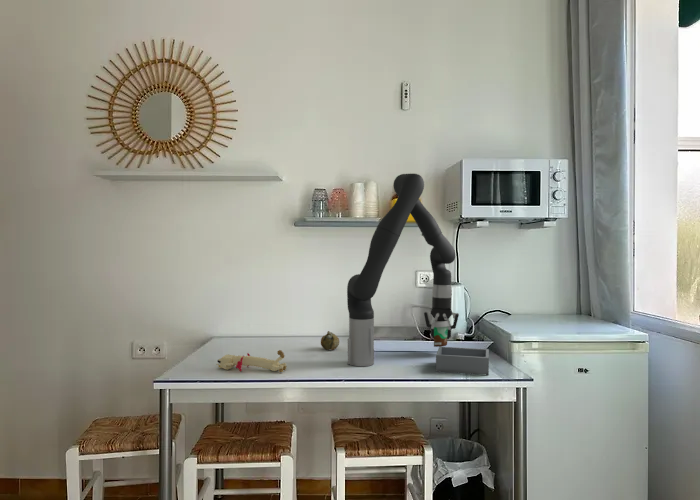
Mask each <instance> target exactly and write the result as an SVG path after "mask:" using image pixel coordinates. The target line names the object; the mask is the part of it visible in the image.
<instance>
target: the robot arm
mask: <svg viewBox="0 0 700 500" xmlns="http://www.w3.org/2000/svg"><path fill="white" fill-rule="evenodd" d="M424 188H425V181H424V178H423V177H422V175H420V174H419V173H401V174H399V175H397V176H396V177H395V178H394V180H393V190H394V192H395V194H396V195H397V199H396V201H395V202H394V204H393V206H392V207H391V208H390V209H389V211H388V212H387V213H386V214H385V215H384V216H383V217H382V219H381V220H380V221H379V223H378V224H377V226H376V228H375V231H374V233H373V235H372V237H371V240H370V244H369V250H368V256H367V258H366V262H365V264H364V265H363V268H362V270H361V271H360V273H358V274H354V275H353V276H351V277H350V278H349V280H348V282H347V286H346V289H347V290H346V293H347V295H346V296H347V301H346V302H347V303H346V304H347V310H348V320H349V321H348V333H349V334H348V338H347V365H349V364H350V366H355V367H368V366H373V365H374V363H375V312H374V311H375V310H374V309H373V306H372V298H373V297H374V296H375V294H376V292H377V290H378V287H379V284H380V281H381V278H382V275H383V273H384V270H385V268H386V266H387V264H388V262H389V259H390V258H391V255H392V253H393V251H394V250H395V248H396V245H397V244H398V241H399V239H400V237H401V235H402V232H403V229H404V228H405V225H406V223H407V221H408V220H409V217H410V216H412V218H413V220H414V221H415V223H416V225H417V227H418V228H419V230H420V232H421V235H422V236H423V238H424V240H425V242H426V243H427V244H428V245H429V246H432V248H431V250H430V253H429V254H430V255H429V259H430V260H429V261H430V264H431V270H432V272H433V273H432V274H433V276H432V277H433V278H432V280H433V281H432V283H433V284H432V285H433V286H432V295H431V296H432V297H431V298H432V299H431V310H430V311H424V312H423V316H424V320H425V321H424V322H425V326H426V328H429V329H430V338H431V337H432V339H434V322H437V321H438V322H439V321H448V319H449V321H450V318H451V317H452V318H453V324H452V325H451V324H450V326H448V334H447V340H450V339H451V337H452V330H454V329H456V327H457V325H458V320H459V316H460V313H458V312H453V311H452V297H453V296H452V295H453V294H452V272H451V271H450V270H449V269H447V267H446V265H449V264H452V263H453V262H455V259H456V251H455V248H454V246H453V245H452V243H450V241H449V240H448V239H447V237H445V235H444V234H443V232H442V230H441V228H440V226H439V224H438V222H437V220H436V219H435V218H434V216H433V215H432V214H431V213H430V212H429V210H428V209H427V208H426V207H425V206H424V204H423V203H422V202H421V200H420V197H421V196H422V194H423V191H424ZM431 315H432V317H433V321H432V323H430V316H431ZM449 321H448V322H449Z"/></svg>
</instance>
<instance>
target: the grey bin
mask: <svg viewBox="0 0 700 500" xmlns="http://www.w3.org/2000/svg"><path fill="white" fill-rule="evenodd" d="M489 355H490V351H489V348H476V347H475V348H473V347H455V346H453V347H452V346H442V347H438V350H437V351H436V354H435V372H436V373H445V374H447V373H450V374H460V373H465V375H476V374H486V375H485V376H489V371H490V370H489V367H490V365H489V363H490V358H489V357H490V356H489Z"/></svg>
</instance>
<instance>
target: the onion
mask: <svg viewBox="0 0 700 500" xmlns="http://www.w3.org/2000/svg"><path fill="white" fill-rule="evenodd" d="M320 345H321V347H322V349H323V350H326V351H333V350H335V349H337V348H338V347H339V345H340V339H339V337H338V335H336V334H335V333H333V332H331V331H329V330H328V331H327V332H326V334H325V335H323V336H322V337H321V338H320Z"/></svg>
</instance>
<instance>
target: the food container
mask: <svg viewBox="0 0 700 500" xmlns="http://www.w3.org/2000/svg"><path fill="white" fill-rule="evenodd" d="M448 321H449V322H448ZM448 321H439V322H438V321H437V322H434V338H433V347H435V348H436V347H437V348H439V347H447V345H448V339H447V334H448V326H450V325H451V322H450V321H451V320H450V318H449V319H448Z"/></svg>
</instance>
